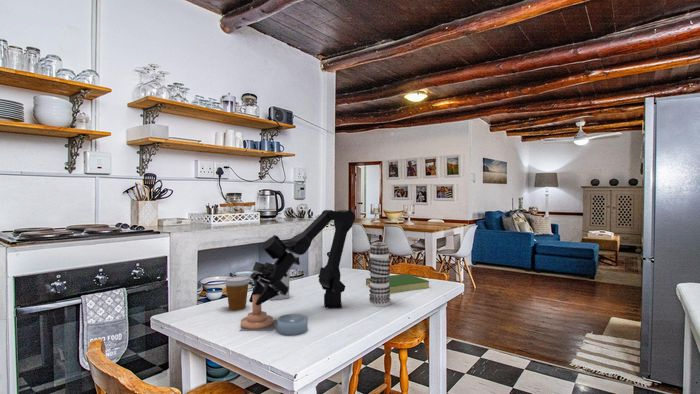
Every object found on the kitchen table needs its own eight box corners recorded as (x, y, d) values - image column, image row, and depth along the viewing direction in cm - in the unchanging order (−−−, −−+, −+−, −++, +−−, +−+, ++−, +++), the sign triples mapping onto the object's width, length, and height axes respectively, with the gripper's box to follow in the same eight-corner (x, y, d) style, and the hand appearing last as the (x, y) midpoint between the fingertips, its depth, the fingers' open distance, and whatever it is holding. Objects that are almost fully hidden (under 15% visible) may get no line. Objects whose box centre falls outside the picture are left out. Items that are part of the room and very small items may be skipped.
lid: (275, 318, 136) (275, 291, 136) (270, 329, 125) (269, 299, 125) (245, 319, 136) (245, 291, 136) (236, 330, 125) (236, 300, 125)
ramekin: (308, 325, 130) (308, 313, 130) (306, 336, 120) (306, 323, 120) (279, 325, 130) (279, 313, 130) (274, 336, 120) (274, 323, 120)
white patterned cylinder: (370, 299, 161) (369, 240, 161) (391, 300, 159) (391, 241, 159) (366, 305, 152) (366, 243, 152) (389, 306, 150) (389, 244, 150)
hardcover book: (407, 280, 197) (407, 273, 197) (429, 288, 180) (429, 281, 180) (364, 286, 186) (364, 278, 186) (384, 295, 169) (384, 287, 169)
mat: (278, 320, 135) (278, 319, 135) (272, 331, 124) (272, 330, 124) (247, 320, 135) (247, 319, 135) (239, 332, 124) (239, 331, 124)
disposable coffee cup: (229, 305, 154) (229, 275, 154) (252, 305, 154) (252, 275, 154) (221, 312, 145) (220, 281, 145) (245, 312, 144) (245, 281, 144)
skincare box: (270, 300, 160) (270, 265, 160) (268, 297, 166) (267, 263, 166) (290, 298, 164) (290, 264, 163) (287, 294, 169) (286, 261, 169)
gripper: (254, 250, 140) (226, 284, 133) (280, 256, 126) (249, 295, 119) (273, 268, 145) (247, 302, 138) (300, 276, 131) (272, 314, 124)
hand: (253, 303), depth 130 cm, fingers open, 5 cm apart
